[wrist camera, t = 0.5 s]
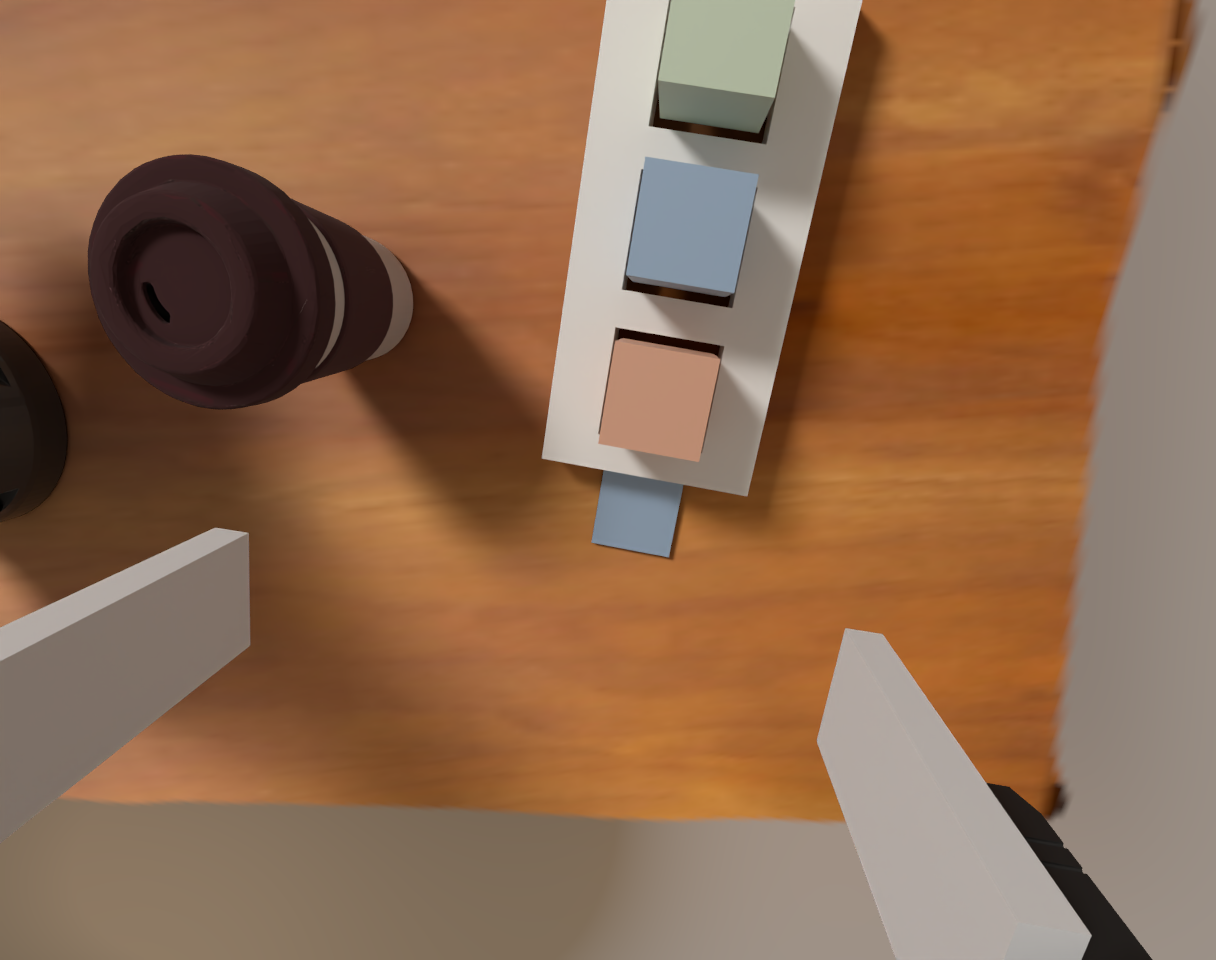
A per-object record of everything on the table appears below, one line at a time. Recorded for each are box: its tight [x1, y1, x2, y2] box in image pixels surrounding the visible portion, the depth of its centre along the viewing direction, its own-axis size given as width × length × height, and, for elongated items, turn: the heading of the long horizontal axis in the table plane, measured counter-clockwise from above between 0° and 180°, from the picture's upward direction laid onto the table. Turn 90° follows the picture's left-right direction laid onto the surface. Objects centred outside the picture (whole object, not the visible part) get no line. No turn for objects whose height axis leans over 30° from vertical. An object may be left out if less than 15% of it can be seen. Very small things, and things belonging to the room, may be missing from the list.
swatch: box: [592, 470, 683, 557], centre depth 40 cm, size 5×5×1 cm
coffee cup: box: [88, 155, 413, 409], centre depth 31 cm, size 10×10×15 cm
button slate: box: [626, 157, 759, 297], centre depth 31 cm, size 5×5×5 cm
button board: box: [542, 0, 862, 496], centre depth 34 cm, size 12×26×3 cm, turn 171°
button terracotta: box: [598, 338, 720, 462], centre depth 33 cm, size 5×5×5 cm
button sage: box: [658, 0, 795, 133], centre depth 29 cm, size 5×5×5 cm
